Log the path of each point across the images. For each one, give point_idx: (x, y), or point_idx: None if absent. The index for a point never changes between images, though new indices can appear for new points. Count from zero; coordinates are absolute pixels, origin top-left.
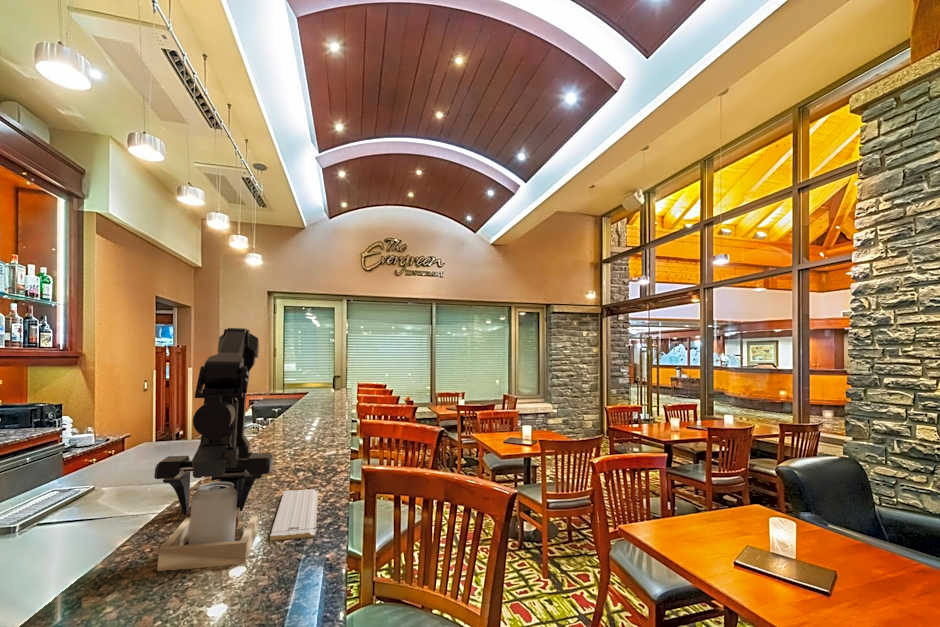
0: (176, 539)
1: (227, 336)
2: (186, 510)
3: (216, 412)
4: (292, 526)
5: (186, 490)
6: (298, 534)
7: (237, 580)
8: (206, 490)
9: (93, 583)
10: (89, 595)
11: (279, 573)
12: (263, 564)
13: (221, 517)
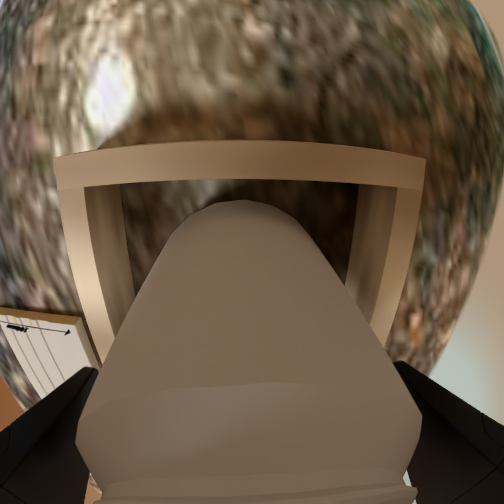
0: (377, 280)
1: None
2: (402, 377)
3: None
4: (53, 368)
5: (451, 474)
6: (17, 315)
7: (103, 30)
8: None
9: (489, 144)
10: (478, 78)
11: (10, 78)
12: (45, 137)
13: (159, 290)
